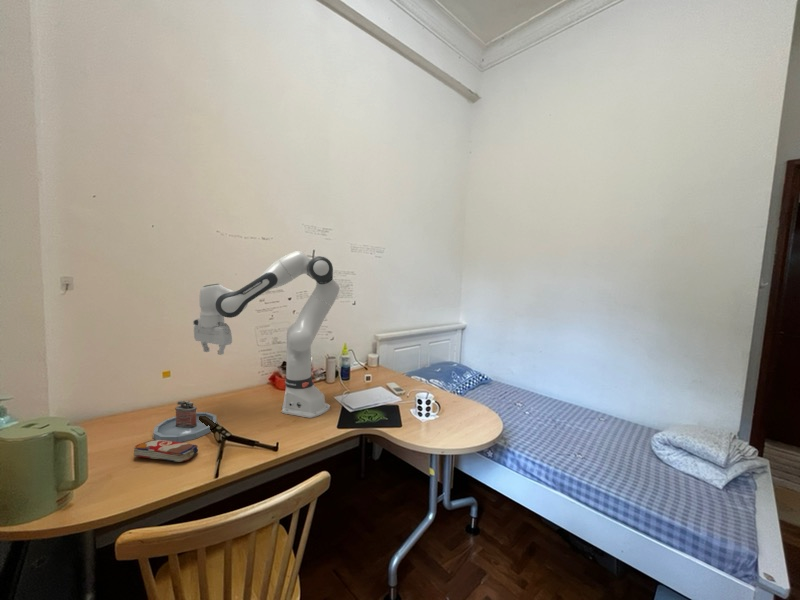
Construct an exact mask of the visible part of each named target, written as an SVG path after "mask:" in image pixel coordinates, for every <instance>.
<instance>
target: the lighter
mask: <svg viewBox="0 0 800 600" xmlns="http://www.w3.org/2000/svg"><path fill="white" fill-rule="evenodd" d="M176 402H177V403H176V404H177V406H175V408H174V409H175V416H176V427H180V428H194V427H196V426H197V423H196V412H197V410H198V408H197V406H195V405H194V402H193V401H190V400H186V401H185V400H178V401H176Z"/></svg>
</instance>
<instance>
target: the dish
mask: <svg viewBox="0 0 800 600" xmlns="http://www.w3.org/2000/svg"><path fill="white" fill-rule="evenodd" d="M199 416H206V417H208V418H209V419H210V420H212V421H213V422H214V423H216V424H217V425H218V422H217V421H218V420H217V415H216V414H213V413H210V412H204V411H200V412H198V411H196V423H197V426H196V427H194V428H180V427H176V415H175V416H172V417H169V418H167V419H164V420H163V421H161V422H160V423H158V424H157V425H155V426H154V428H153V429H154V430H153V432H152V433H153V434H152V437H153V439H152V440H164V441H173V442H182V443H185V442H188V441H193V440H196V439H198V438H200V437H203V436H205V435H208V434H210V433H211V432H212V431H211V430H210V426H209V425H208V426H206V425H205V424H204V423H202V422H201V421H200V420H199Z"/></svg>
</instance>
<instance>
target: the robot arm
mask: <svg viewBox="0 0 800 600" xmlns="http://www.w3.org/2000/svg"><path fill="white" fill-rule="evenodd" d="M305 274H306V275H307V276H308V277H310V278H311V280H314V281H315V282H316V285H315V288H314V290H313V291H312V293H311V295H310V296H309V297H308V299H307V300H306V302H305V303H304V306H303V307H302V308H301V311H300V313H299V315H298V316H297V318H296V320H295V322H293V323H292V324H291V325H289V327H288V328H287V331H286V368H285V369H286V370H285V371H286V372H285V375H286V376H285V379H284V385H285V390H284V391H285V392H284V396H283V397H284V398H283V403H282V406H281V408H282V409H281V413H282V414H286V415H291V416H297V417H301V418H302V417H303V418H309V419H312V418H316V417H318V416H321V415H323V414H325V413H326V412H328V411H329V410H330V409H331V405H330V404H328V403H327V402H326V400H325V399H326V398H325V397H326V396H325V394H324V393H322V391H321V390H320V389H319V388H318V387H317V386H316V385H315V382H316V379H315V378H314V379H313V376H312V347H311V346H312V344H313V341H314V340H315V339H316V337H317V334H318V332H319V331H320V328H321V326H322V324H323V322H324V320H325V319H326V317H327V315H328V314H329V311H330V310H331V308H332V307H333V305H334V304H335V302H336V300H337V297H338V295H339V293H340V285H339V284H338V282H337V281H335V280H334V279H333V278H334V277H333V276H334V275H333V274H334V267H333V263H332V262H331V261H330V259H329V258H328V257H325V256H315V257H314V258H310V257H308V255H307V254H306V253H305V252H303V251H301V250H295V251H292V252H289V253H288V254H286V255H284V256H282V257H280V258H278V259H277V260H275V261H274V262H272V264H270V265H269V266H268V267H267V268H266V269H265V270H264V271H263V272H262V273H261V274H260V275H259V276H258V277H257V278H255V279H254V280H253V281H251V282H249V283H248V284H247V285H246V284H245V285H244V286H242V288H240V289H237V290H233V289H230V288H227V287H225V286H223V285H222V284H221V283H215V284H214V283H213V284H207V285H206V284H205V285H204V286H202V287H201V288H200V291H199V307H200V313H199V318H196V319H193V320H192V325H193V337H194V340H195V341H197V342H199V343H200V344H201V346H202V349H203V352H204V353H208V352H210V351H211V350H210V347H209V346H208V345H209V344H214V345H218V348H219V349H218V350H217V355H220V356H223V355H224V354H225V348H226V346H228V345H232V343H233V336H232V330H231V327H230V326H229V325H228V323H225V318H231V319H232V318H236V317H237V316H239V315H240V314H241V313H242V312H243V311H244V310H245V309H246V308H247V307H248V304H249V303H250V302H251V301H253V300H255V299H256V298H258V297H259V296H261V295H262V294H264V293H267V291H270V290H272V289H275V288H276V289H277V288H279V287H282V286H285V285H286V284H288V283H290V282H292V281H294V280H295V279H296V278H299V277H300V276H301V275H305Z"/></svg>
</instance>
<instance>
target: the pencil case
mask: <svg viewBox="0 0 800 600" xmlns="http://www.w3.org/2000/svg"><path fill="white" fill-rule="evenodd" d="M198 447H199V446H198V445H196V444H192V443H187V442H173V441H164V440H155V439H152V440H151V439H150V440H148V441H144V442H141V443H139V444H137V445H135V446H134V447H133V456H134V457H139V458H144V459H145V458H146V459H155V460H164V461H170V462H177V463H178V462H179V463H180V462H186V461H189V460H191V459H192V458H193V457H194V456H195V455H196V454H197V453H198V451H199V449H198Z"/></svg>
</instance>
